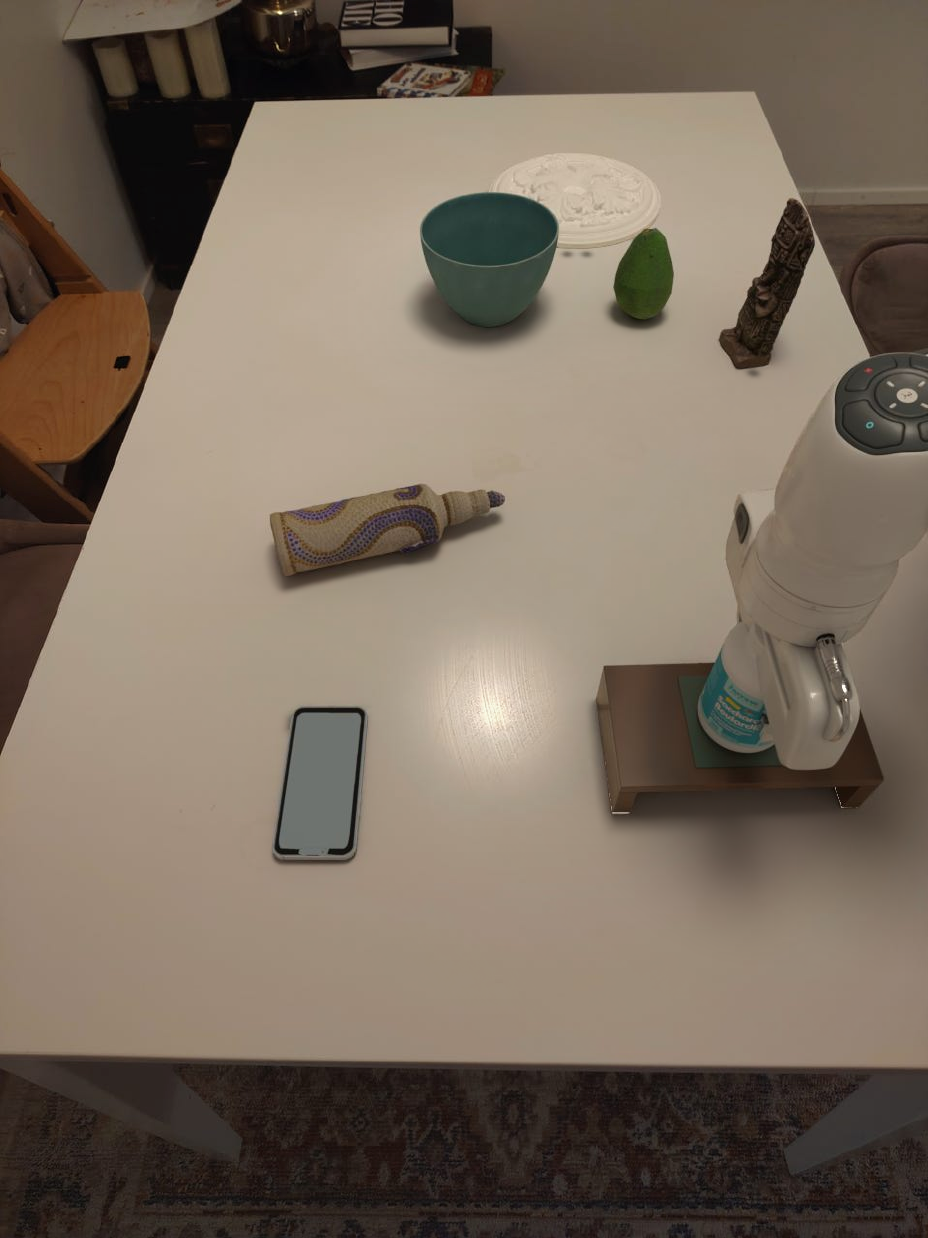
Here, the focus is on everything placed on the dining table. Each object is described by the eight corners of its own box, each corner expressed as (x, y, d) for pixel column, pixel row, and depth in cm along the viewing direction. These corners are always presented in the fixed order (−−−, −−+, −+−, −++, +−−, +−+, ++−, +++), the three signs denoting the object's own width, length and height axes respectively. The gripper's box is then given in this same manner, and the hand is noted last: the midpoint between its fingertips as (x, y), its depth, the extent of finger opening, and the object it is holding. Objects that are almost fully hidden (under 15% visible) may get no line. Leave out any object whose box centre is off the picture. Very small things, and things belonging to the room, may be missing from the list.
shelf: (821, 691, 80) (844, 657, 75) (858, 808, 73) (886, 779, 68) (596, 698, 80) (603, 664, 75) (611, 815, 74) (621, 786, 68)
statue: (716, 338, 113) (756, 192, 97) (766, 332, 113) (814, 185, 97) (735, 370, 109) (780, 222, 93) (786, 363, 110) (839, 215, 93)
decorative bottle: (285, 592, 89) (272, 551, 83) (276, 541, 93) (263, 499, 88) (514, 542, 92) (516, 500, 87) (495, 495, 96) (496, 452, 91)
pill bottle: (692, 746, 70) (729, 662, 59) (699, 674, 75) (735, 583, 64) (782, 765, 69) (838, 682, 58) (784, 690, 73) (836, 600, 62)
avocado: (653, 293, 119) (668, 211, 109) (675, 325, 115) (693, 243, 105) (601, 302, 118) (611, 221, 108) (621, 335, 114) (634, 253, 104)
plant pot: (425, 351, 112) (419, 268, 102) (424, 275, 123) (419, 192, 113) (558, 347, 112) (566, 263, 102) (546, 271, 123) (551, 188, 113)
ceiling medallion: (617, 266, 123) (620, 246, 121) (456, 219, 132) (455, 199, 129) (686, 182, 137) (690, 163, 134) (536, 144, 146) (537, 125, 143)
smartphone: (368, 705, 80) (355, 857, 71) (369, 710, 80) (356, 861, 71) (292, 705, 80) (269, 857, 71) (294, 711, 80) (271, 861, 71)
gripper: (907, 714, 50) (829, 804, 61) (816, 474, 62) (765, 586, 73) (803, 717, 50) (744, 806, 61) (732, 476, 62) (694, 588, 73)
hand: (755, 685), depth 67 cm, fingers closed on pill bottle, 7 cm apart
